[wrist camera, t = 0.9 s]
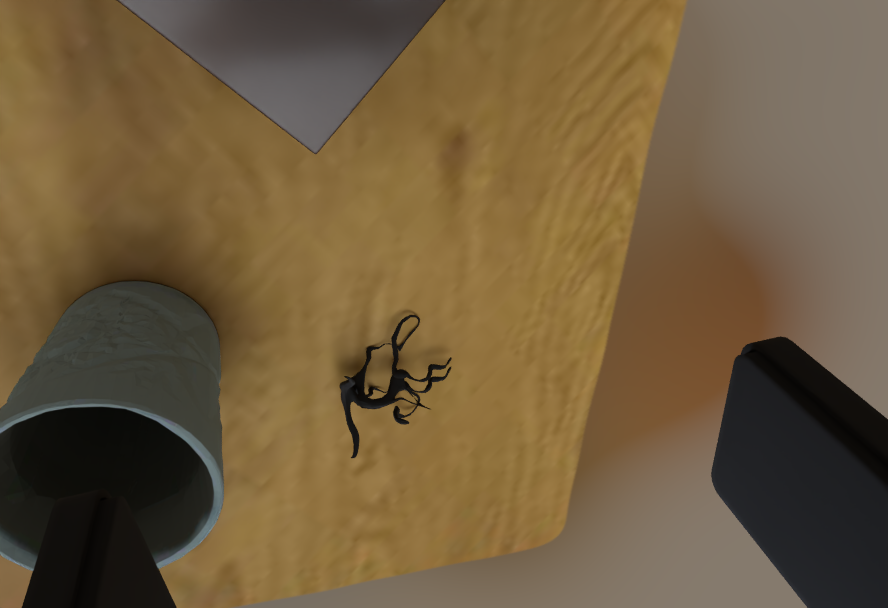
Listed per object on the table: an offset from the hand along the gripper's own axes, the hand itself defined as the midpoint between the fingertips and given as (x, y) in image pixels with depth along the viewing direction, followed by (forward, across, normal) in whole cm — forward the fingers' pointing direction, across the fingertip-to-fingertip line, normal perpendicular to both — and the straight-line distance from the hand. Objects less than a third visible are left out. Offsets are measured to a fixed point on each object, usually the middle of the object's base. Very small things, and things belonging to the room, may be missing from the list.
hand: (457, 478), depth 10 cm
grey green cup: (+28, +12, +13) cm, 33 cm away
